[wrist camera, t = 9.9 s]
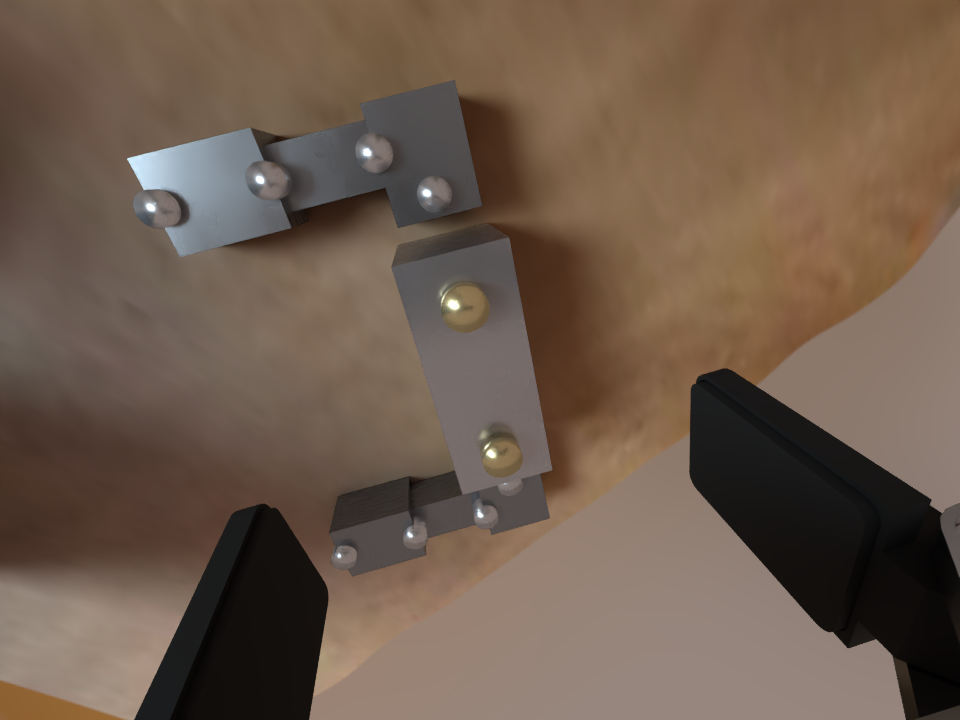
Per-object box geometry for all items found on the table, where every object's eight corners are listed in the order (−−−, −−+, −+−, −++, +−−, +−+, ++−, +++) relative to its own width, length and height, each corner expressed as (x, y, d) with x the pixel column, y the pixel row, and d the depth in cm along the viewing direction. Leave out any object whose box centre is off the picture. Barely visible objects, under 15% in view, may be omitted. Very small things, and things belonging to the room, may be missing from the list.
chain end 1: (160, 163, 16) (106, 160, 13) (448, 91, 16) (454, 73, 13) (214, 269, 17) (176, 286, 15) (473, 202, 18) (483, 206, 15)
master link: (397, 244, 18) (389, 272, 13) (486, 222, 18) (514, 240, 13) (453, 430, 22) (464, 508, 17) (525, 411, 22) (558, 482, 17)
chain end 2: (324, 486, 22) (312, 528, 20) (524, 430, 23) (539, 464, 20) (351, 539, 24) (343, 585, 21) (537, 486, 24) (552, 525, 22)
